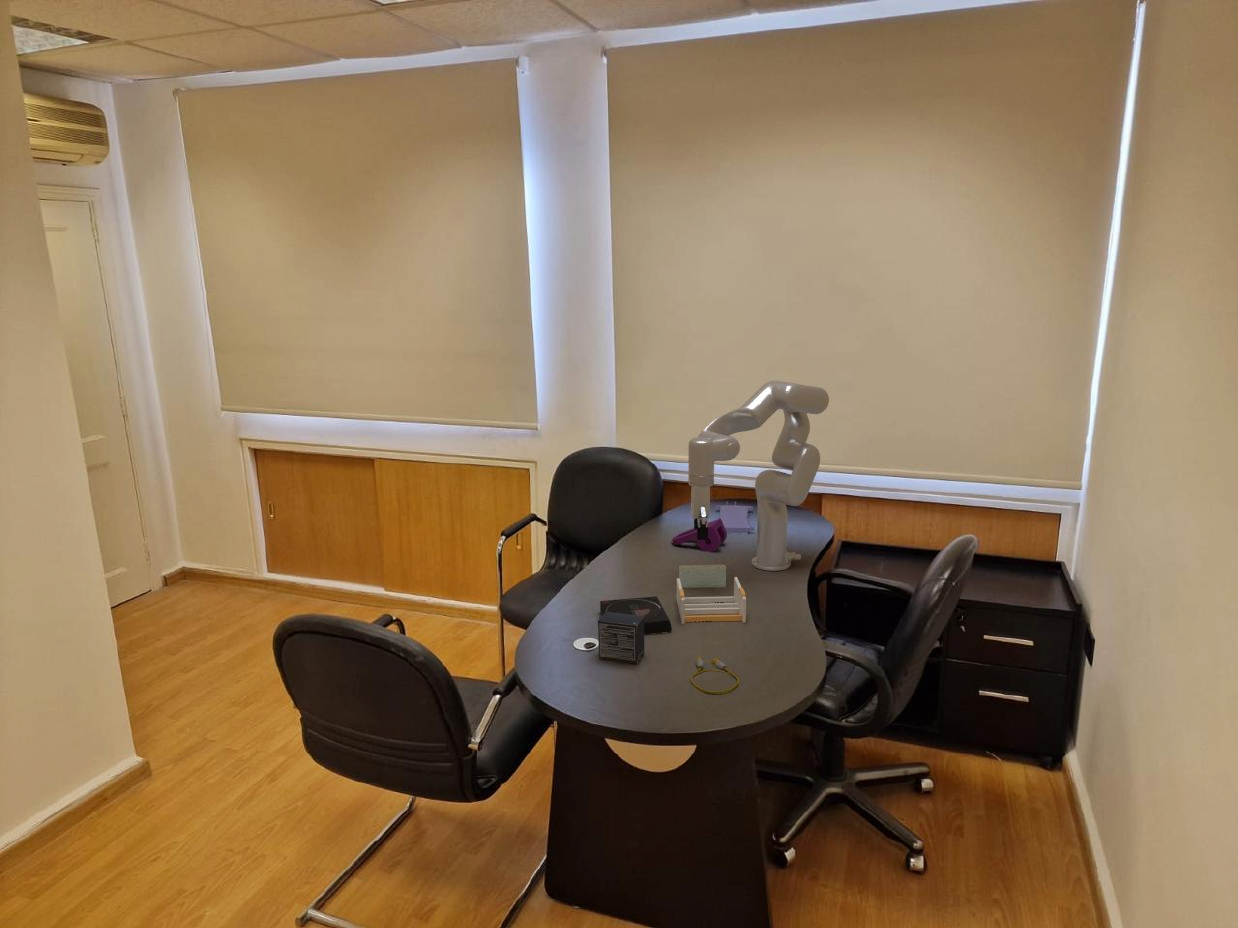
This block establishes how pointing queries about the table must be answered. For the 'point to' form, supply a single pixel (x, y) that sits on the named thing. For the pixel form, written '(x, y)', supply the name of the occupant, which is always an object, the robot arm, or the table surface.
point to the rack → (712, 606)
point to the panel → (702, 576)
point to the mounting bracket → (715, 536)
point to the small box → (621, 637)
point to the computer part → (735, 518)
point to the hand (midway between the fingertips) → (700, 534)
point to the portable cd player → (641, 612)
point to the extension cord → (716, 663)
